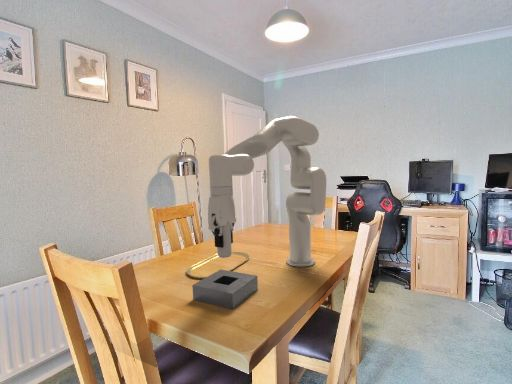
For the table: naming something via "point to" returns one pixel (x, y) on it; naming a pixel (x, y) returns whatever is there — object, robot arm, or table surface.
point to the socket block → (225, 288)
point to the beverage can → (225, 242)
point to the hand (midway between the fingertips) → (224, 244)
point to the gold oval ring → (214, 258)
